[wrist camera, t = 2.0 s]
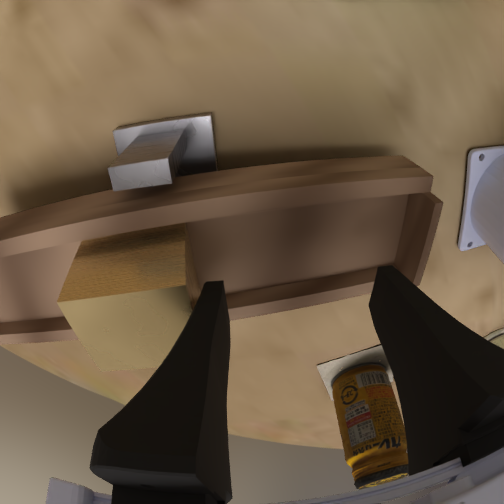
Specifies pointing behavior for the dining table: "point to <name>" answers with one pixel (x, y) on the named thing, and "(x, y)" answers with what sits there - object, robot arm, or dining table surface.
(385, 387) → the condiment
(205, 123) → the pivot stand
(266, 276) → the balance beam
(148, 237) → the wooden cube block
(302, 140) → the dining table surface
